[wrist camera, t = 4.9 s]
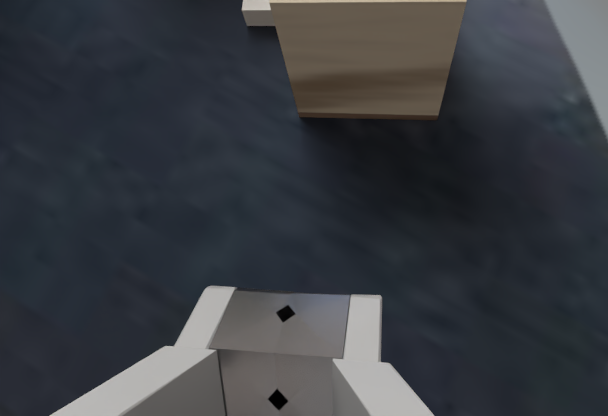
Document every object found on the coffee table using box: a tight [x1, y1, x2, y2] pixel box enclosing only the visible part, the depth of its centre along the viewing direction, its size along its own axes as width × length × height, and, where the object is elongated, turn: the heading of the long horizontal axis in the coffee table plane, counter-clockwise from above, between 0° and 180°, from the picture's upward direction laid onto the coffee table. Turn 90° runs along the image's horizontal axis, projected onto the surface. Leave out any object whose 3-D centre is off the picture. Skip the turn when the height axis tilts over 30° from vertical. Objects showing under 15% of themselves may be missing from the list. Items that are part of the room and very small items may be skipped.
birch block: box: [269, 0, 467, 120], centre depth 27 cm, size 6×8×10 cm
